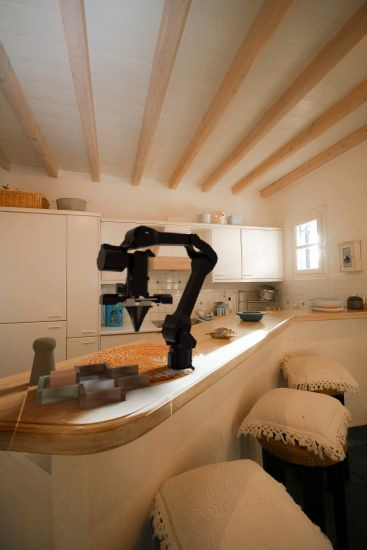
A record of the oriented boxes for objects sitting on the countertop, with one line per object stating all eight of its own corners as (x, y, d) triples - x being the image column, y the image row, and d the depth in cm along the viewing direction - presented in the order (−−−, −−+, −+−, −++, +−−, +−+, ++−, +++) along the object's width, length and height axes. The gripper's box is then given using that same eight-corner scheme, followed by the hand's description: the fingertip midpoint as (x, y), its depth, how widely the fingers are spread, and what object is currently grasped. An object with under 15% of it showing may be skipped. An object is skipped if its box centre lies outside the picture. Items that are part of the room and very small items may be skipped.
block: (74, 385, 58) (74, 368, 58) (75, 393, 53) (76, 374, 54) (50, 389, 55) (50, 371, 56) (49, 398, 51) (50, 378, 51)
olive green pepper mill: (44, 388, 58) (46, 340, 59) (22, 386, 59) (24, 339, 60) (61, 379, 64) (63, 336, 65) (41, 377, 65) (43, 335, 66)
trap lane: (131, 370, 72) (132, 359, 72) (157, 397, 53) (158, 382, 53) (40, 382, 61) (41, 369, 62) (33, 421, 43) (33, 403, 43)
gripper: (159, 276, 78) (158, 326, 77) (97, 274, 70) (95, 330, 68) (173, 273, 68) (173, 331, 67) (103, 270, 60) (101, 336, 59)
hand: (136, 331), depth 65 cm, fingers closed
